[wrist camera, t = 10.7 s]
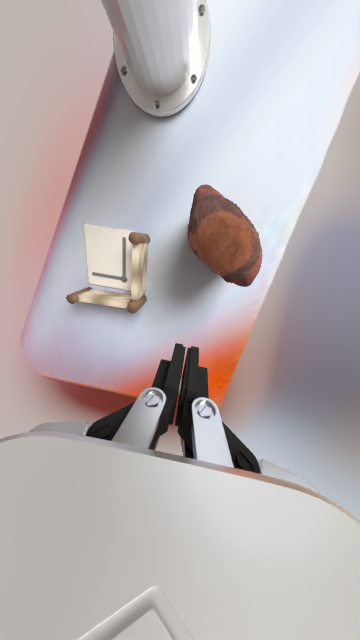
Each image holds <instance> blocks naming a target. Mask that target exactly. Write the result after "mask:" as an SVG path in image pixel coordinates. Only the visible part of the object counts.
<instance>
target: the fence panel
mask: <svg viewBox="0 0 360 640" xmlns="http://www.w3.org/2000/svg"><path fill="white" fill-rule="evenodd" d="M66 298H67V301H68V302H69V303H71V304H74V303H76V302H78V301H80V302H87V303H93V304H100V305H107V306H113V307H120V308H126V309H127V305H128V304H129V303H130V302H132V301H133V300H131V295H129V294H122V293H115V292H108V291H101V290H95V289H92V288H90V287H88V288H85V289H83V290H80V291H77V292H75V293H72V294H70V295H67V297H66Z"/></svg>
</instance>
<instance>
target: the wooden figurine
mask: <svg viewBox="0 0 360 640" xmlns="http://www.w3.org/2000/svg"><path fill="white" fill-rule="evenodd" d="M188 240H189V243H190V246H191V249H192V250H193V252H194V253H195V255H196V256H197V257H199V259H200V260H201V261H203V262H204V263H205V264H207V265H208V266H209V267H210V269H211V270H212V271H213V272H215V273H218V274H219V275H220V276H221V277H222V278H223V279H224V280H225V281H227V282H231V283H235V284H236V285H239V286H243V287H247V286H249V285H251V284H252V282H253V280H254V279H255V277H256V276H257V274H258V272H259V270H260V267H261V262H262V248H261V245H260V239H259V234H258V232H257V231H256V229H255V228H254V225H253V224H252V223H251V221H250V220H249V219H248V218H247V216H245V215H244V213H243V212H242V211H241V209H240V208H239V207H238V206H237V204H234V203H233V202H231V201H230V200H228V199H226V198H224V197H223V196H222V195H221V194H220V193H219V192H218V191H216V190H215V189H213V188H212V187H211V186H209V185H201V186H200V187H198V188H197V190H196V192H195V194H194V199H193V204H192V208H191V212H190V220H189V225H188Z"/></svg>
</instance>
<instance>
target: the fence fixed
mask: <svg viewBox="0 0 360 640" xmlns="http://www.w3.org/2000/svg"><path fill="white" fill-rule="evenodd" d="M128 238H129V241H130V243H131V244H132V285H131V300H133V301H132V302H130V303H129V304H128V305H127V310H128V311H129V312H130V313H135V312H136V311H137V310H138V309H139V308H140V307H141V306H142V305H143V304H144V303H145V302H146V300H147V299H146V296H145V295H144V294H145V288H146V271H147V254H148V243H149V242H150V238H149V236H148V235H147V234H142V233H136V232H131V233H130V234H129V237H128Z"/></svg>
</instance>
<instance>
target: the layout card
mask: <svg viewBox="0 0 360 640" xmlns="http://www.w3.org/2000/svg"><path fill="white" fill-rule="evenodd" d="M131 232H133V231H127V230H121V229H114V228H108V227H102V226H96V225H89V224H84V233H85V245H86V257H87V269H88V281H89V283H90V284H96V285H102V286H107V287H113V288H119V289H124V290H130V291H131V285H132V244H131V243H130V241H129V238H128V237H129V234H130V233H131Z"/></svg>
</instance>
